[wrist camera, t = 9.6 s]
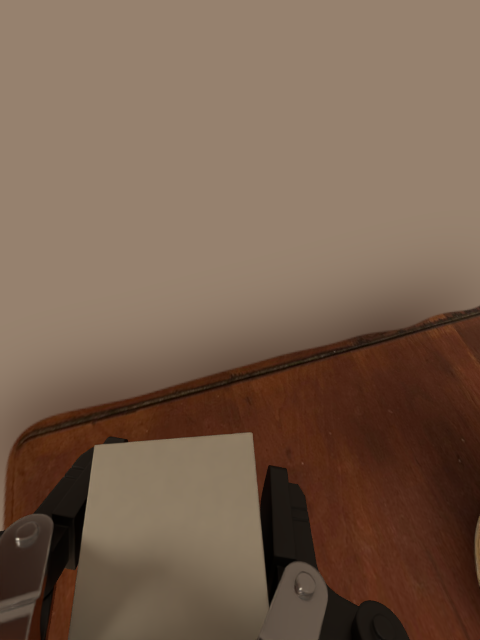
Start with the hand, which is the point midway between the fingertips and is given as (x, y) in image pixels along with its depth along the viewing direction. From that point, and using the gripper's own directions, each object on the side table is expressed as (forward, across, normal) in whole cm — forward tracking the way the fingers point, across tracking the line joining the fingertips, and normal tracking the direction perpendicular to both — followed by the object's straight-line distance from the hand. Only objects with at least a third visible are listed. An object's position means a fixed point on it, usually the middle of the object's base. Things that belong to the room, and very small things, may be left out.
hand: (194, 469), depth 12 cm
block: (+2, 0, +4) cm, 5 cm away
